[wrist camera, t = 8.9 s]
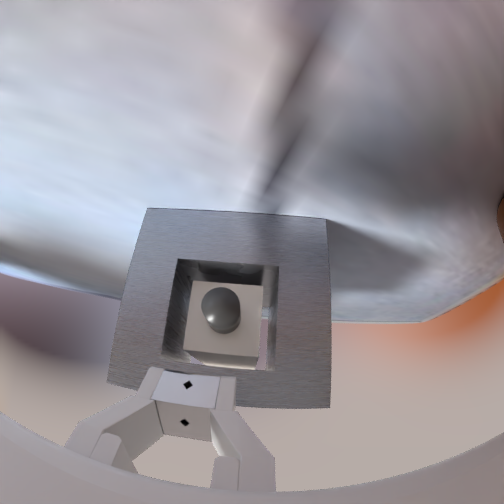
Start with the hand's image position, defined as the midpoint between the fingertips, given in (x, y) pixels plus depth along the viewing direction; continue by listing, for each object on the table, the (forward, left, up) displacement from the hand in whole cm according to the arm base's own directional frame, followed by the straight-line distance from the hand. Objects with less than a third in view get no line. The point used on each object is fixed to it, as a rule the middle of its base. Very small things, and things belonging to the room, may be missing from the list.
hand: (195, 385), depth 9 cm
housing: (-3, -8, -11) cm, 14 cm away
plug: (-4, -12, -6) cm, 15 cm away
